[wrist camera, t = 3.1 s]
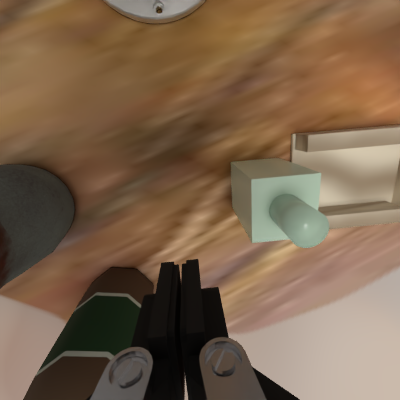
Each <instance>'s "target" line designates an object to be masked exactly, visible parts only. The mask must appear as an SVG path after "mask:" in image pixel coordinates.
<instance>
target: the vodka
mask: <svg viewBox="0 0 400 400" xmlns="http://www.w3.org/2000/svg"><path fill="white" fill-rule="evenodd" d="M74 211H75V208H74V202H73V198H72V196H71V194H70V192H69V190H68V188H67V187H66V186H65V185H64V184H63V182H62V181H61V180H60V179H59V178H58V177H56V176H55V175H53V174H51V173H50V172H48V171H46V170H44V169H40V168H37V167H34V166H28V165H12V164H6V165H0V289H1V288H2V287H3V286H4V285H5V284H6V283H8V282H9V281H11V280H13V279H14V278H16V277H17V276H19V275H20V274H22V273H23V272H25V271H26V270H28V269H29V268H30V267H32V266H33V265H35V264H36V263H38V262H39V261H40V260H42V259H43V258H45V257H46V256H47V255H49V254H50V253H52V252H53V251H54V249H55V248H56V247H57V245H58V244H59V243H60V242H61V240H62V239H63V238H64V236H65V235H66V233H67V231H68V230H69V228H70V226H71V224H72V221H73V216H74Z"/></svg>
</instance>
